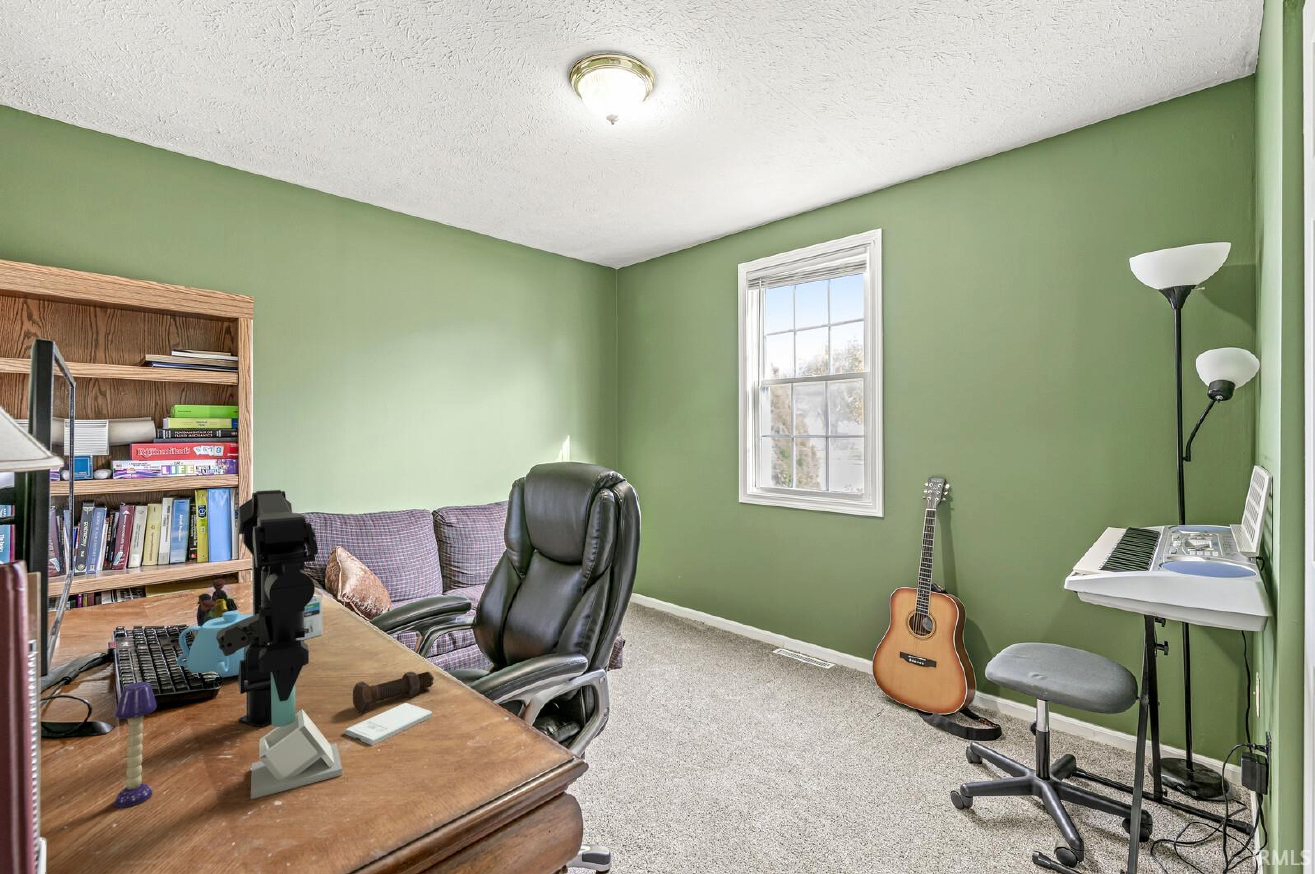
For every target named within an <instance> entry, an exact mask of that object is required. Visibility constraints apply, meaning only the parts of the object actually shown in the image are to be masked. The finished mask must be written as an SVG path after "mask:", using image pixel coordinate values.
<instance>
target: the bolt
mask: <svg viewBox="0 0 1315 874" xmlns="http://www.w3.org/2000/svg"><path fill="white" fill-rule="evenodd" d="M434 679H435V677H434V676H433V674H432V672H430V671H428V670H427V671H424V672H421V673H416V672H414V671H407V672H404V674H403V675H402V677H401V678H398V679H394V680H389V681H386V682H382V683H377V684H373V685H369V684H368V683H366V682H364V681H359V682H357V683H356V684H355V685H354V687H353V689H352V703H353V707H354V709H355V710H356V711H357V712H358V713H360V712H361V714H364V713H367V712H369V710H370V709H371V708H370V707H371V705H372V704H373V705H374V704H376V703H378V702H382V701H385V700H388V699H392V698H396V697H399V696H403V695H404V696H406V697H408V698H411V697H413V696H414V697H415V696H417V695H418V693H419V691H421V690H425V689H428V688H431V687H432V686H433V685H434Z"/></svg>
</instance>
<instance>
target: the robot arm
mask: <svg viewBox="0 0 1315 874" xmlns="http://www.w3.org/2000/svg"><path fill="white" fill-rule="evenodd" d="M286 498H287V497H286V492H285V490H280V489H273V490H272V489H270V490H256V492H252V494H251V498H250V499H248V500H247V501H246V502H244V503H242V504H241V505H240V506H239V507H238V510H237V511H238V513H237V534H238V535H241V542H242V544H243V545H244V547H246V549H247V551H248V552H249V553H250V555H251V558H252V559H251V562H252V563H251V568H252V570H251V572H252V575H251V576H252V577H251V578H252V580H251V581H252V614H253V616H251V617H248V618H246V619H243V620H241V621H239V622H236V623H234V624H232V625H230V626H227V627H225V628H223V629H221V630H219V631H218V632H217V635H216V639H217V641H218V643H219V649H221V650H222V652H223V654H224V656H229V655H232V654H234V653H235V652H236V651H237V650H239V649H241V648H244V660H240V663H239V672H238V675H237V676H238V677H237V678H238V679H237V680H238V683H237V684H238V690H239V694H240V695H242V694H243V695H244V694H246V715H243V716H241V717H239V718H238V722H239V723H243V724H247V725H251V726H255V727H259V728H262V727H266V726H267V725H269V724H272V710H271V672H272V674H273V678H274V681H275V685H276V689H277V693H278V697H279V700H280V701H286V700H288V699H289V696H290V694H291V692H292V689H293V687H294V685H295V686H296V683H297V680H298V678H299V675H300V673H301V672H302V669H303V667H304V666H307V665H308V664H309V663H310V659H309V655H310V654H309V652H310V651H309V646H308V643H306V642H305V640H296V638H303V637H305V629H304V611H305V606H306V605H307V604H308V603H309V602H310V601H311V599H312V598H313V595H314V594H315V590H316V589H315V588H316V587H315V583H314V581H313V579H312V578H311V577H310V575H308V574H307V572H306V571H305V563H309V562H315V561H316V556H317V555H318V552H319V551H318V549H319V547H318V543H317V542H318V541H317V537H316V533H315V532H316V531H315V529H314V528H313V527H312V526H313V525H312V523H311V522H310V521H309V522H308V521H307V519H306V517H305V516H304V515H303V514H302V513H299V512H298V513H297V512H293V507H292V503H291V502H290V501H289V500H287V499H286Z"/></svg>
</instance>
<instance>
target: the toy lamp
mask: <svg viewBox="0 0 1315 874" xmlns="http://www.w3.org/2000/svg"><path fill="white" fill-rule="evenodd" d="M157 707H158V706H157V701H156V698H155V695H154V691H153V689H152V686H151V684H150V682H148V681H140V682H134V683H130V684H128V685H126V686H125V687H124V688H123V690H122V693H121V695H120V698H119V702H118V704H117V707H116V710H115V717H116V718H117V719H121V720H122V719H125V720H127V723H128V726H127V734H128V737H127V740H126V741H127V742H126V743H127V745H128V746H127V749H126V755H127V758H126V766H127V768H126V773H125V774H126V778H127V779H126V781H125V786H126V787H124V788H123V789H122V790H120V792H119V793H117V796H116V797H115V799H114V803H113V805H114V806H115V807H117V808H127V807H131V806H135V805H138V804H141V803H143V802H145V801H147V800H148V799H150V798H151V797H152V795H153V790H152V788H151V786H150V785H148V784H147V783H142V780H143V777H142V775H141V774H142V772H143V766H142V763H143V754H142V753H143V749H144V746H143V743H142V742H143V739H144V734H143V731H144V724H143V721H144V717H145V716H147V715H149V714H151V713H153V712H154V711H155V710H156V709H157Z"/></svg>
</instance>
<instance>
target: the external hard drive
mask: <svg viewBox="0 0 1315 874" xmlns="http://www.w3.org/2000/svg"><path fill="white" fill-rule="evenodd" d="M431 718H433V712H432V710H428V709H426V708H422V707H420V706H417V705H413V704H411V703H407V702H404V703H401V704H399V705H397V706H395V707H392V708H390V709H388V710H386V711H383V712H381V713H379V714H376V715H375V716H371V718H368V719H365V720H363V721H361V722H358V723H356V724H354V725H351V726H349V727H348V728H347V727H346V728H345V729H344V735H347V736H349V737H351V738H353V739H358V740H360V741H361V742H364V743H366V744H368V745H370V744H371V745H370V746H374V745H377V744H379V743H380V742H383V741H385V740H387V739H389V738H391V737H393V736H395V734H396V735H397V734H400V733H402V732H404V731H406V730H408V729H410V728H413V727H414V726H416V725H418V724H421V723H423V722H425V721H426V720H430V719H431ZM420 722H421V723H420ZM403 730H404V731H403ZM376 743H377V744H376Z"/></svg>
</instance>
